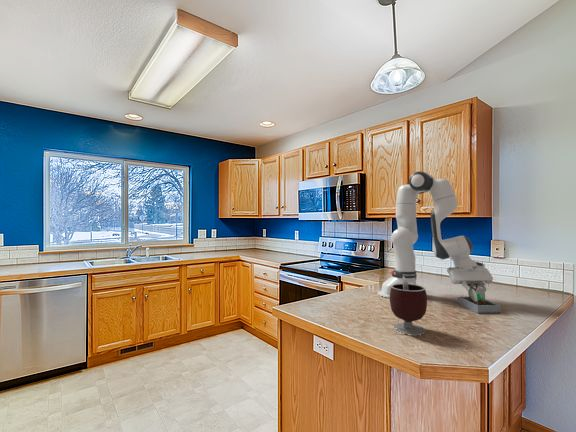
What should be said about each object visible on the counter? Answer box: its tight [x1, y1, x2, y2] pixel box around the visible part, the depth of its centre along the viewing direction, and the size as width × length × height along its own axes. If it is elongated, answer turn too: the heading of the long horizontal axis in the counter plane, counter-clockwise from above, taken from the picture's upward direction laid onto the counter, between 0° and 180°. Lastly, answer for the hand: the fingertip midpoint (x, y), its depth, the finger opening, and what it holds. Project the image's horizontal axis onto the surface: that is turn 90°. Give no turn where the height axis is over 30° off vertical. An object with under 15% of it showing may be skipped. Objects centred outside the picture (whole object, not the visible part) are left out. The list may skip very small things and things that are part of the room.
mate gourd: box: [389, 276, 428, 336], centre depth 124 cm, size 16×14×20 cm
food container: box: [467, 282, 487, 305], centre depth 152 cm, size 12×6×10 cm, turn 171°
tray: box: [457, 296, 501, 314], centre depth 152 cm, size 11×17×4 cm, turn 0°
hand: (477, 290), depth 153 cm, fingers closed on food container, 6 cm apart
